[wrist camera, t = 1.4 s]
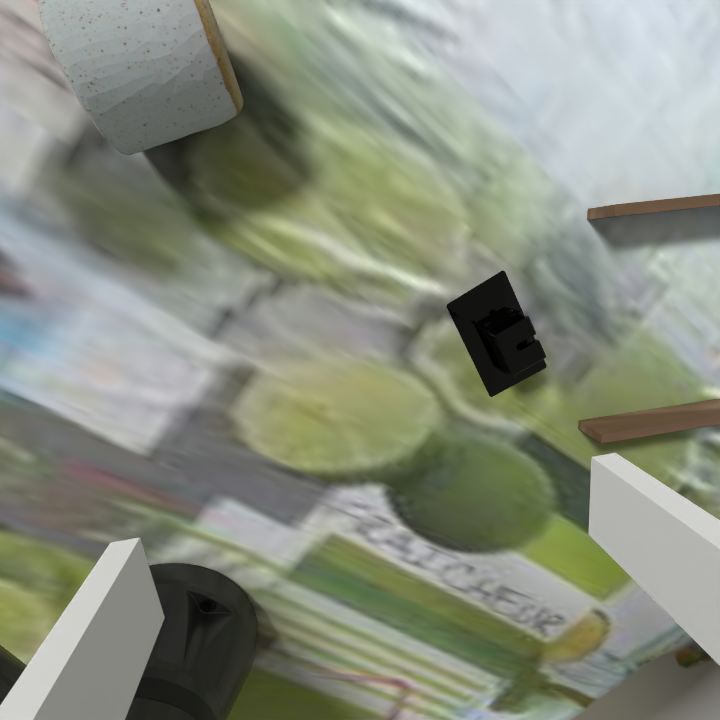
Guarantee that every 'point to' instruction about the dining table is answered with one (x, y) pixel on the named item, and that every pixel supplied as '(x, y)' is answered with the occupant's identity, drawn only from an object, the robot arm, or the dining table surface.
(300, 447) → the dining table surface
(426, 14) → the dining table surface
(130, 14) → the ceramic mug
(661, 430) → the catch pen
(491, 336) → the black wall mount bracket
